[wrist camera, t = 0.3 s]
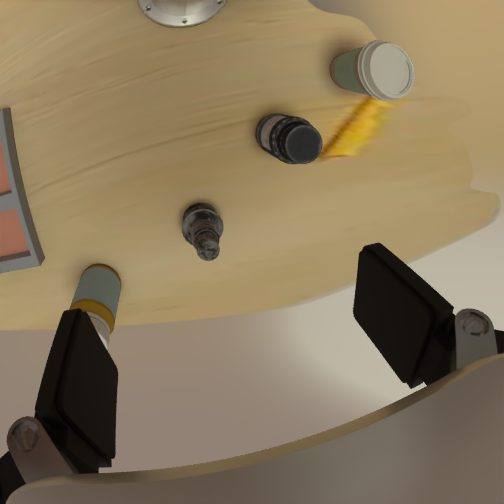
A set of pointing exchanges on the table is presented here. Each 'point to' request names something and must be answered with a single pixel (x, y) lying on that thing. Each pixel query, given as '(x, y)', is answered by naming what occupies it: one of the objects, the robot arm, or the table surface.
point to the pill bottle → (289, 138)
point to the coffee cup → (375, 71)
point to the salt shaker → (203, 230)
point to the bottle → (99, 298)
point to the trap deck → (14, 208)
